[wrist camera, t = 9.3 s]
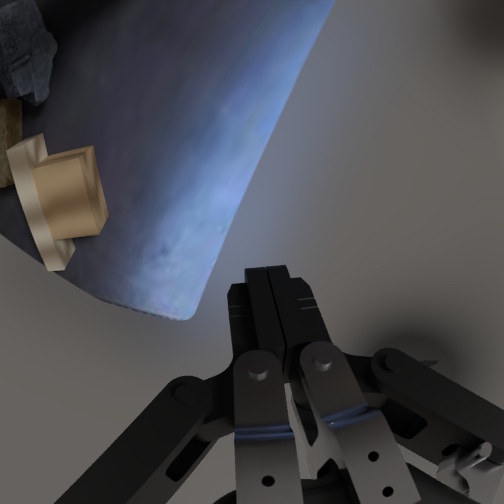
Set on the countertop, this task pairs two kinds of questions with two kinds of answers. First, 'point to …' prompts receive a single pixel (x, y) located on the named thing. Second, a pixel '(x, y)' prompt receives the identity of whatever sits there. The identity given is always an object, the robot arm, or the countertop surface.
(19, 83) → the stone
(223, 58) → the countertop surface
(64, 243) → the board
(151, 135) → the countertop surface
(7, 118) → the stone block
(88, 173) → the oak block
